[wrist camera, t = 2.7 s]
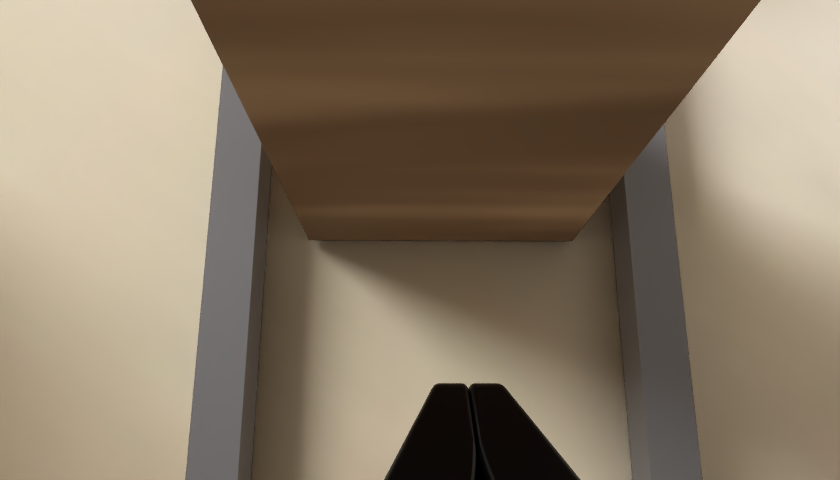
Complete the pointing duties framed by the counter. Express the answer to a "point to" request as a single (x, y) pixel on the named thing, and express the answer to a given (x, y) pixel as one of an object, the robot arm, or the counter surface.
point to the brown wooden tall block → (460, 105)
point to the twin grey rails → (243, 296)
